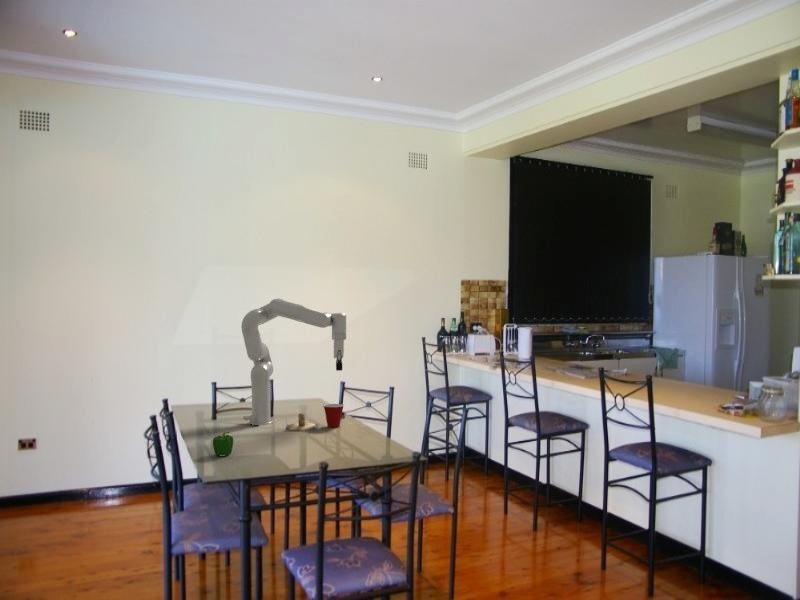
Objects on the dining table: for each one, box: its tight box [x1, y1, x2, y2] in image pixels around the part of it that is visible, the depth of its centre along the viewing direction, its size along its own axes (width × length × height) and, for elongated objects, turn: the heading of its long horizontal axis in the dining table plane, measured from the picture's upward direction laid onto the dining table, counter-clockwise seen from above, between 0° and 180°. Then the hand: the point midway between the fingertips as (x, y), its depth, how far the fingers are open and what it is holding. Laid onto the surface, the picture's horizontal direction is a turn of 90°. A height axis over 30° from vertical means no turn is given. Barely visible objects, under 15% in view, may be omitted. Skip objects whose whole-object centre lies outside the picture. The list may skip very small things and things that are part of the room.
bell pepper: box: [212, 430, 234, 456], centre depth 256 cm, size 8×8×10 cm
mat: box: [283, 423, 319, 433], centre depth 304 cm, size 16×16×1 cm
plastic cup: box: [322, 403, 345, 429], centre depth 307 cm, size 11×11×12 cm
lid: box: [287, 412, 316, 432], centre depth 304 cm, size 14×14×7 cm
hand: (339, 369), depth 317 cm, fingers open, 9 cm apart
